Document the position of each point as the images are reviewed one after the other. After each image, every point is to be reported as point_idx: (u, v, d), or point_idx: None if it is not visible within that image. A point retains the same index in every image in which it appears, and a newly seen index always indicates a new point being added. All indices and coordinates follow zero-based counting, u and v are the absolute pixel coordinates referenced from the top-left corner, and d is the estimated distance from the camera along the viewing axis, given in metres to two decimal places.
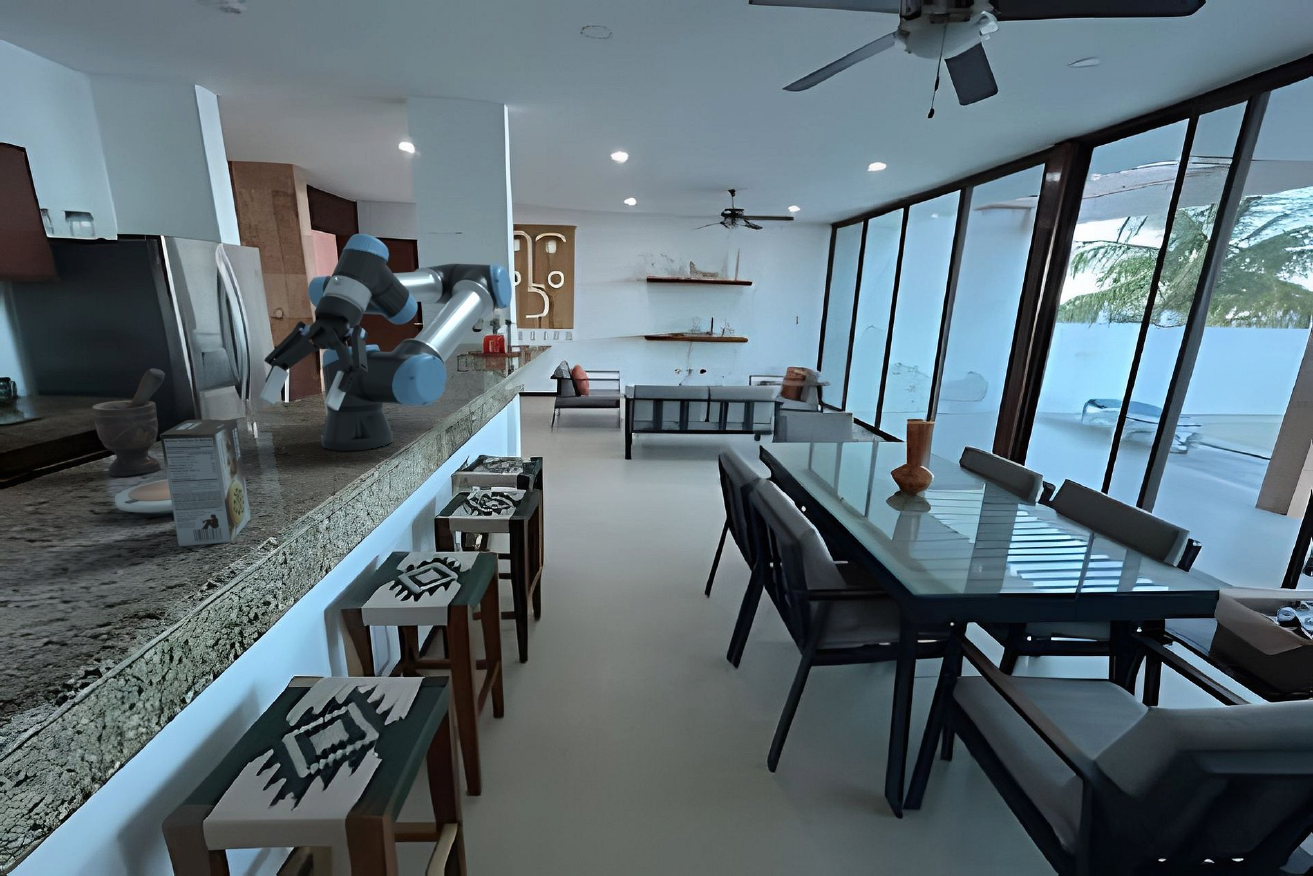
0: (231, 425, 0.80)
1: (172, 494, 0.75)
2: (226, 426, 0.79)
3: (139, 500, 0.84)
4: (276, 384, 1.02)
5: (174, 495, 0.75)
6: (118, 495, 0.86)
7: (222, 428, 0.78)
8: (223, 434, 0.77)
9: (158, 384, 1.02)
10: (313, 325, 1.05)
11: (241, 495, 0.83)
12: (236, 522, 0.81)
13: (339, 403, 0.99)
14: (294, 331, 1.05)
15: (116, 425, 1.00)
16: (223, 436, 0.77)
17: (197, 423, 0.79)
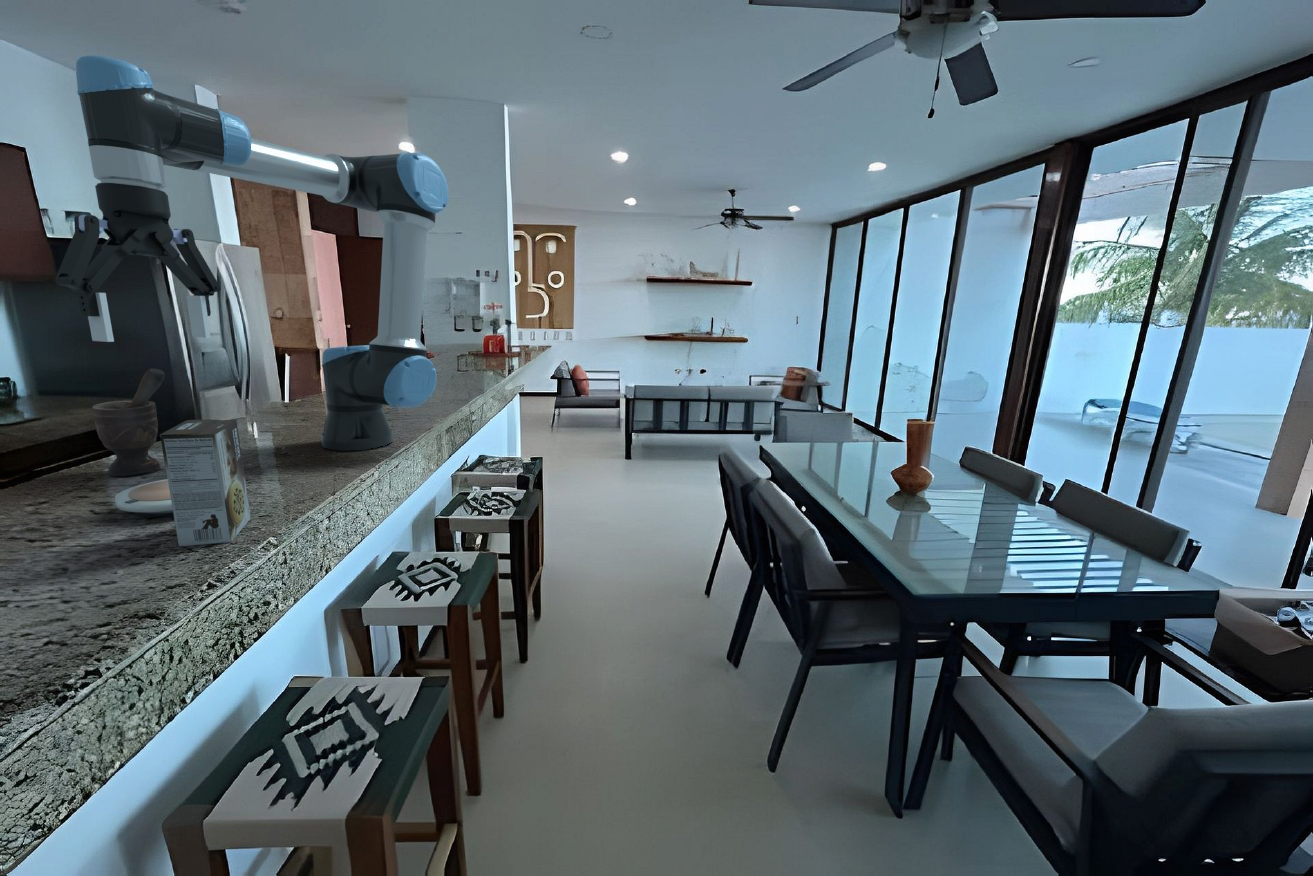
0: (231, 425, 0.80)
1: (172, 494, 0.75)
2: (226, 426, 0.79)
3: (139, 500, 0.84)
4: (196, 315, 0.88)
5: (174, 495, 0.75)
6: (118, 495, 0.86)
7: (222, 428, 0.78)
8: (223, 434, 0.77)
9: (158, 384, 1.02)
10: None
11: (241, 495, 0.83)
12: (236, 522, 0.81)
13: (104, 332, 0.76)
14: None
15: (116, 425, 1.00)
16: (223, 436, 0.77)
17: (197, 423, 0.79)
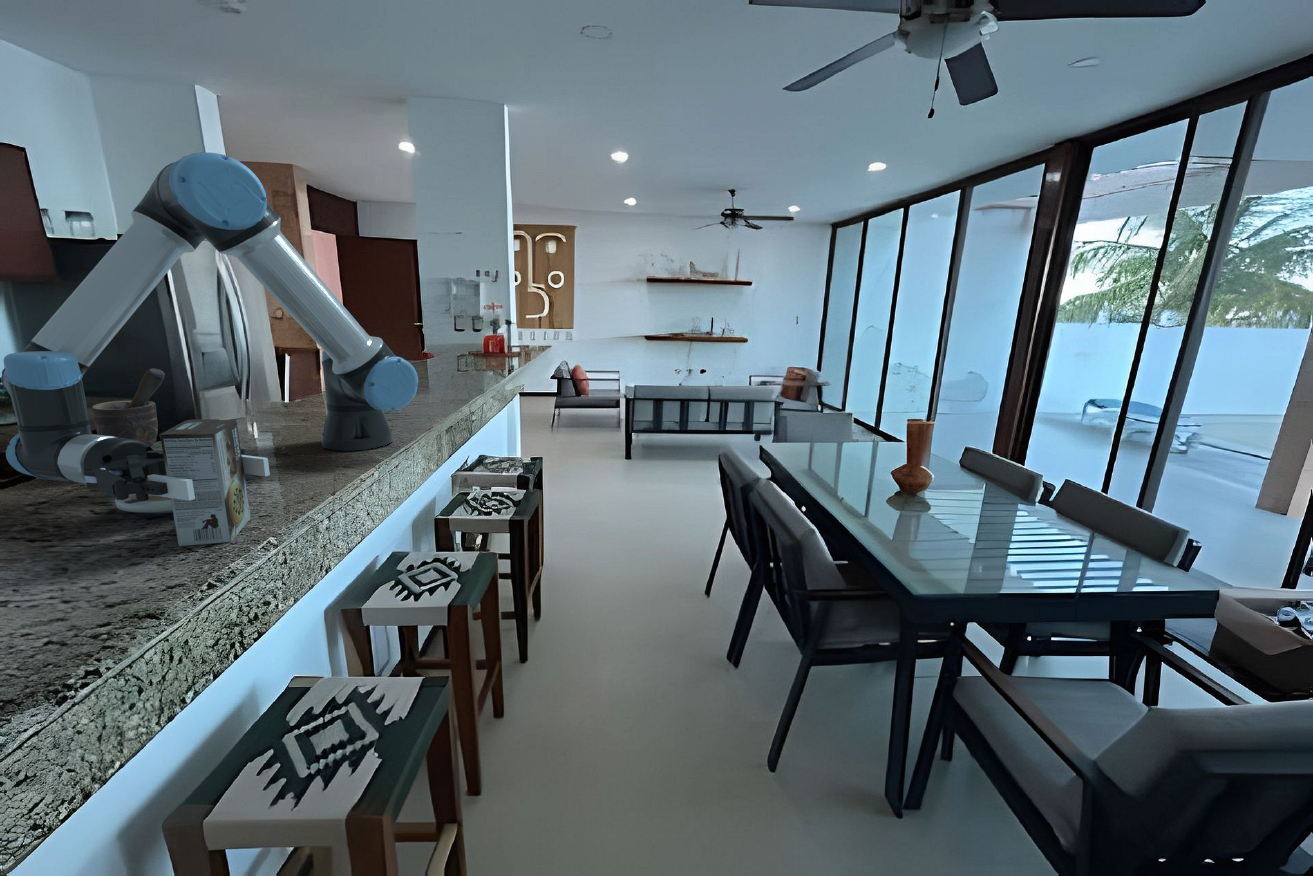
0: (231, 425, 0.80)
1: None
2: (226, 426, 0.79)
3: None
4: (245, 465, 0.84)
5: None
6: None
7: (222, 428, 0.78)
8: (222, 434, 0.77)
9: (158, 384, 1.02)
10: None
11: (241, 495, 0.83)
12: (236, 522, 0.81)
13: (179, 482, 0.73)
14: None
15: (116, 425, 1.00)
16: (222, 436, 0.77)
17: (197, 423, 0.79)
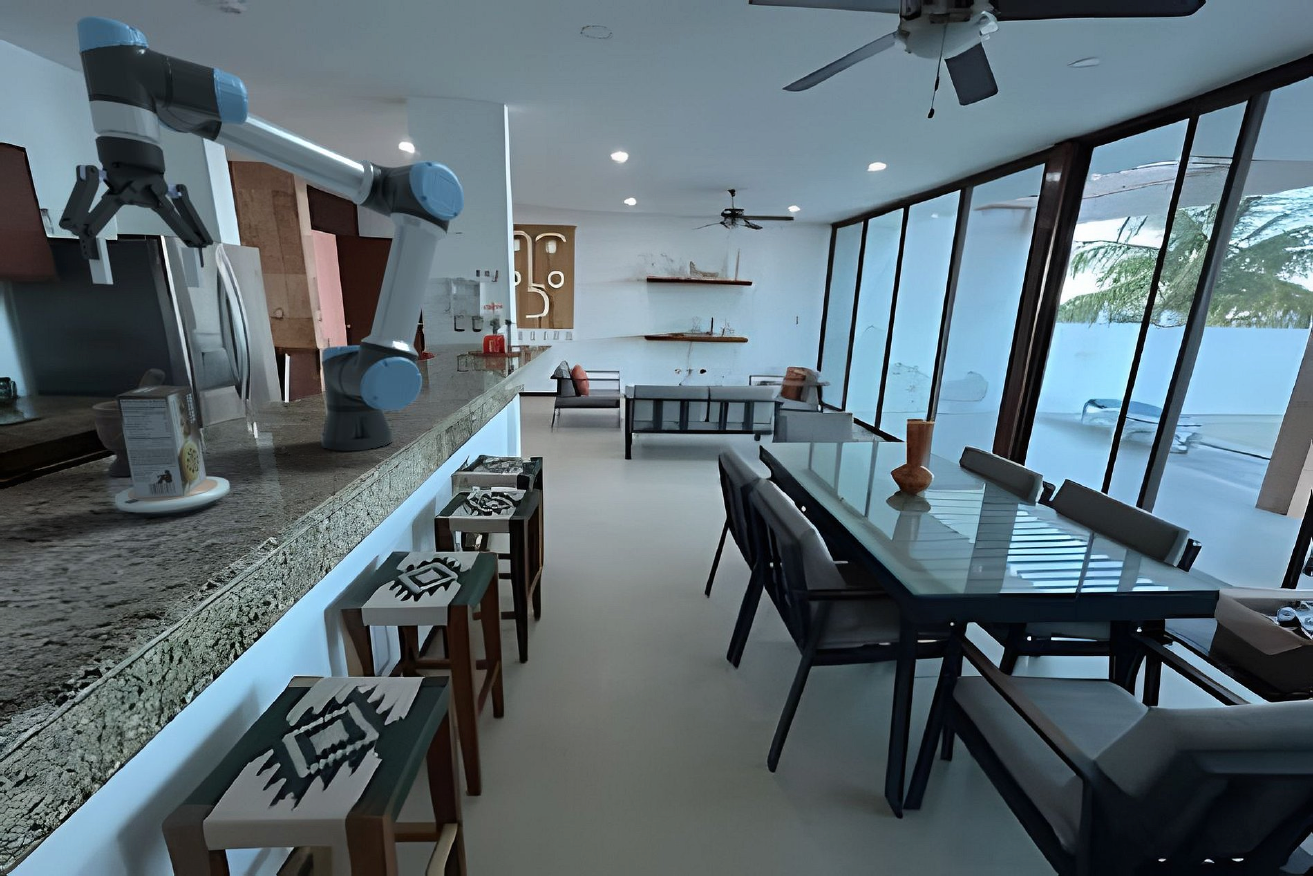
0: (185, 390, 0.88)
1: (128, 450, 0.83)
2: (180, 390, 0.87)
3: (139, 500, 0.84)
4: (190, 266, 0.94)
5: (130, 451, 0.83)
6: (118, 495, 0.86)
7: (175, 392, 0.85)
8: (176, 397, 0.85)
9: (158, 384, 1.02)
10: None
11: (195, 455, 0.91)
12: (190, 479, 0.88)
13: (104, 275, 0.82)
14: None
15: (116, 425, 1.00)
16: (176, 399, 0.85)
17: (153, 388, 0.87)
